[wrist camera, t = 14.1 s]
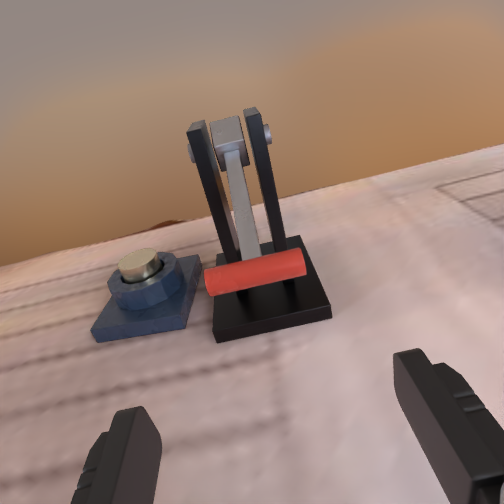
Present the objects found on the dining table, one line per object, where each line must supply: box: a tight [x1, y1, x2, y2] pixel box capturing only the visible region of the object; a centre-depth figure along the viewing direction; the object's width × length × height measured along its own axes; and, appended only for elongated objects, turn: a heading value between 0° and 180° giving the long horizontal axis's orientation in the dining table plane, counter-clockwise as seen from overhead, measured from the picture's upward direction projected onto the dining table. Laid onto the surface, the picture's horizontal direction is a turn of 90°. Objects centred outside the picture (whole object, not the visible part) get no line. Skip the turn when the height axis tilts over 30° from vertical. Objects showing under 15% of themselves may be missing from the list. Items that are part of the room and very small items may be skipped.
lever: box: [204, 116, 306, 297], centre depth 22 cm, size 13×5×2 cm, turn 4°
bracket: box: [187, 107, 332, 343], centre depth 27 cm, size 12×9×15 cm
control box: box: [90, 252, 202, 343], centre depth 32 cm, size 10×8×4 cm
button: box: [118, 248, 163, 284], centre depth 31 cm, size 4×4×2 cm
